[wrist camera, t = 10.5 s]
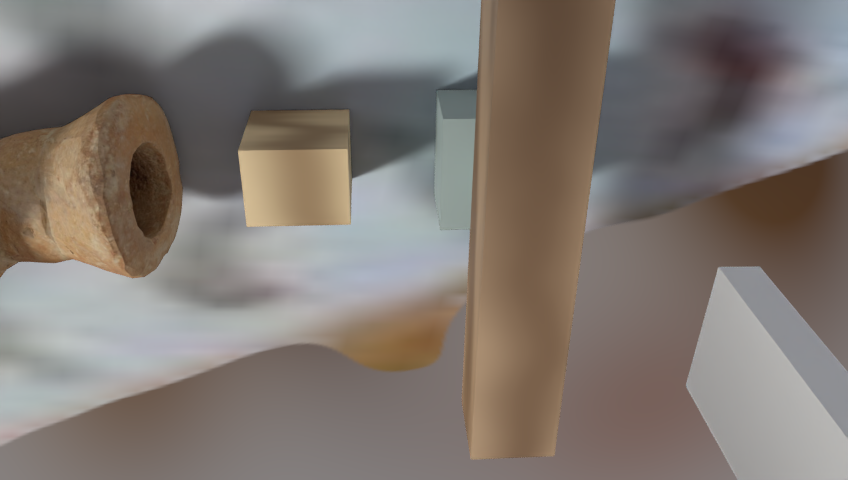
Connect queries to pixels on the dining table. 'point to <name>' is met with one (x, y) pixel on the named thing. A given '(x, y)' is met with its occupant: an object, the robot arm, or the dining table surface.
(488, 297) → the rod
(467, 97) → the block
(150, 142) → the pipe
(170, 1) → the dining table surface
